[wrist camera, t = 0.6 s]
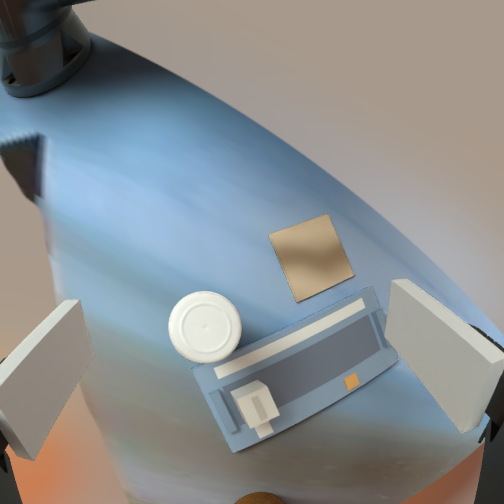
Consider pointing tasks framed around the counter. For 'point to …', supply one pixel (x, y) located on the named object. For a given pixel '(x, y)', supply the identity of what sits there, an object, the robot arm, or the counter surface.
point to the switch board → (300, 367)
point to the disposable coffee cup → (259, 499)
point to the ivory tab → (255, 403)
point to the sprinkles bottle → (205, 327)
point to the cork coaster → (311, 256)
